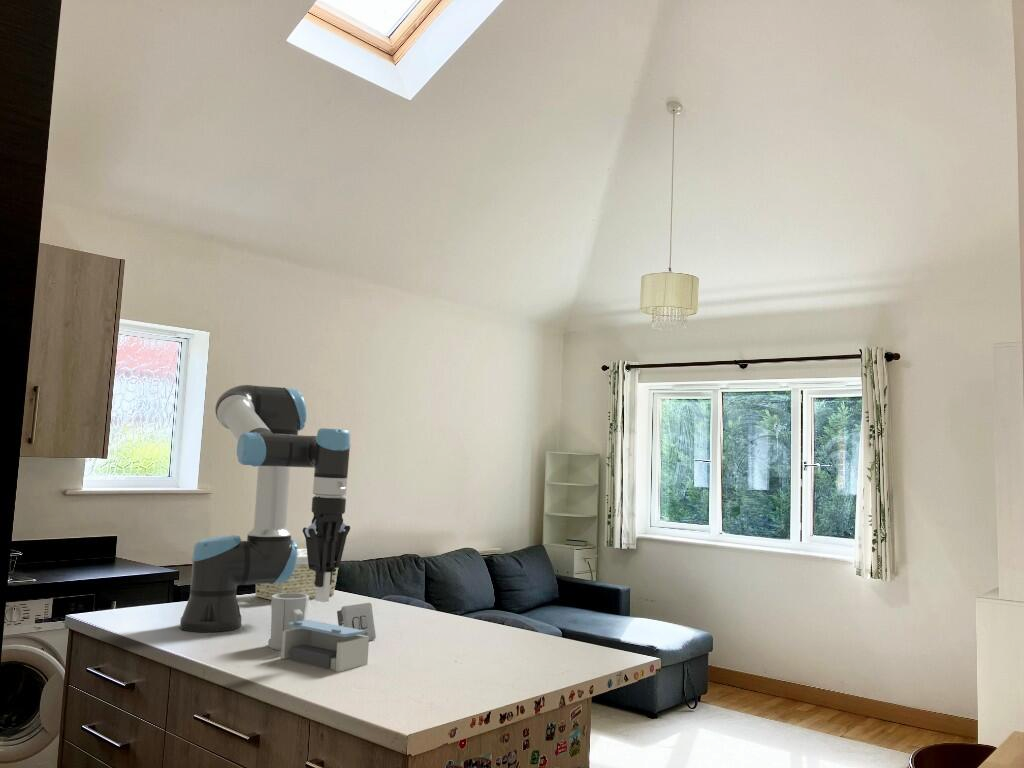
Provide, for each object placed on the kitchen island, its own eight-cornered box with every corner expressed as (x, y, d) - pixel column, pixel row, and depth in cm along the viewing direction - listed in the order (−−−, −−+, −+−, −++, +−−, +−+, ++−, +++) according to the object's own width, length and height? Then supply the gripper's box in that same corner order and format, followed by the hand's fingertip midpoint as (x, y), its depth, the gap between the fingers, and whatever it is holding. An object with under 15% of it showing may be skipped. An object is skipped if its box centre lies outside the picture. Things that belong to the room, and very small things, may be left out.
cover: (287, 627, 183) (287, 620, 183) (312, 623, 189) (312, 617, 189) (343, 638, 173) (344, 631, 173) (368, 634, 180) (368, 628, 180)
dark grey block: (289, 660, 180) (290, 647, 180) (303, 657, 183) (304, 644, 184) (332, 670, 173) (333, 656, 173) (346, 667, 176) (346, 653, 176)
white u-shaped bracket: (280, 658, 181) (282, 631, 182) (310, 651, 189) (312, 625, 189) (338, 672, 172) (340, 643, 172) (367, 664, 179) (369, 636, 180)
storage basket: (310, 590, 275) (313, 546, 277) (340, 596, 265) (343, 551, 267) (249, 597, 257) (253, 551, 258) (279, 604, 247) (283, 556, 248)
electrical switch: (347, 645, 196) (347, 606, 198) (334, 644, 199) (334, 605, 201) (376, 640, 203) (376, 602, 205) (363, 639, 207) (362, 602, 208)
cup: (318, 645, 195) (322, 595, 196) (297, 653, 186) (300, 600, 188) (282, 640, 198) (285, 591, 200) (259, 648, 190) (263, 596, 191)
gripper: (320, 498, 175) (312, 607, 173) (361, 496, 186) (354, 599, 184) (296, 495, 179) (288, 602, 177) (337, 494, 190) (330, 594, 188)
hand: (321, 600), depth 181 cm, fingers closed
